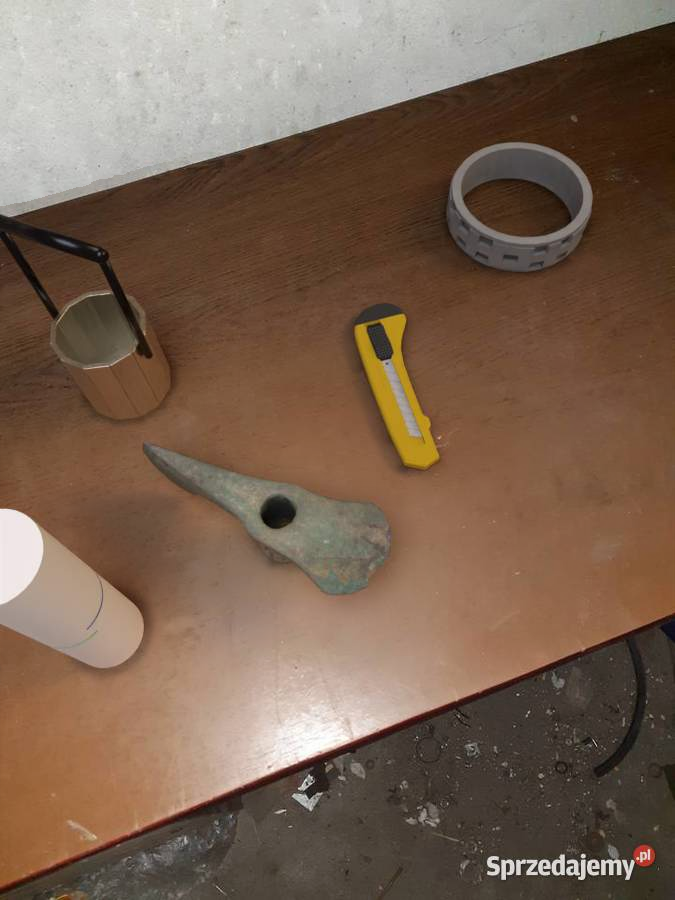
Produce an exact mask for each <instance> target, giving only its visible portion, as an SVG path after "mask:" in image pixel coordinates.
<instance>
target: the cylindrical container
mask: <svg viewBox="0 0 675 900" xmlns="http://www.w3.org/2000/svg"><path fill="white" fill-rule="evenodd" d="M0 625H1V626H3V627H6V628H9V629H10V630H13V631H14V632H17V633H19V634H21V635H23V636H25V637H27V638H29V639H32V640H34V641H36V642H39V643H41V644H42V645H45V646H47V647H49V648H51V649H54V650H55V651H58V652H60V653H62V654H65V655H67V656H69V657H71V658H73V659H74V660H78V661H79V662H82V663H84V664H86V665H89V666H91V667H93V668H98V669H109V668H114V667H116V666H119V665H121V664H123V663H124V662H126V661H127V660H129V659H130V658H131V657H132V656H133V655H134V654H135V652H136V651H137V650H138V648H139V647H140V644H141V643H142V640H143V636H144V630H145V626H144V625H145V623H144V618H143V615H142V613H141V611H140V609H139V608H138V607H137V605H135V603H133V602H132V601H131V600H130V599H129V598H128V597H126V595H124V594H123V593H122V592H121V591H119V590H118V589H116V588H115V586H113V585H112V584H111V583H109V582H108V581H107V580H106V579H105V578H103V577H102V576H101V575H100V574H99V573H97V572H96V571H95V570H94V569H93V568H92V567H91V566H89V565H88V564H86V563H85V562H84V561H83V560H82V559H80V558H79V557H78V556H77V555H76V554H75V553H73V552H72V551H71V550H70V549H68V547H66V546H65V545H64V544H62V543H61V542H60V541H59V540H57V539H56V538H55V537H54V536H53V535H52V534H51V533H49V532H48V531H47V530H45V528H43V527H42V526H40V524H38V523H37V522H36V521H35V520H34V519H32V518H31V517H29V516H28V515H26V514H25V513H23V512H21V511H18V510H17V509H16V510H15V509H11V508H0Z"/></svg>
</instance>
